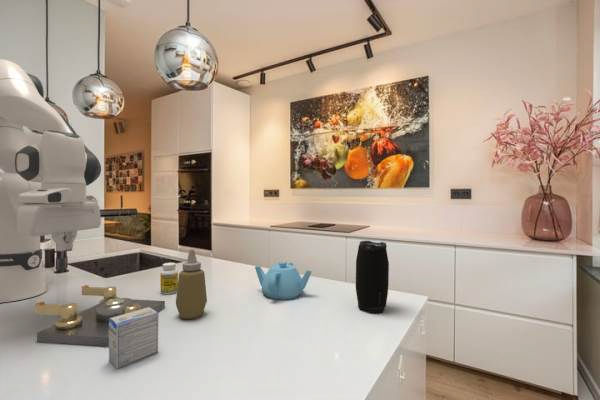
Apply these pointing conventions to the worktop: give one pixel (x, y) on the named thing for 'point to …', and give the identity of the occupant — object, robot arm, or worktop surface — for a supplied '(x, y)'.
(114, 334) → the medicine box
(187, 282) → the squeeze bottle
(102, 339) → the levelling base
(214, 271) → the worktop surface
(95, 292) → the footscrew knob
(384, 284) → the portable speaker
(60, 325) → the lever
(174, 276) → the supplement bottle
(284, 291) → the teapot
